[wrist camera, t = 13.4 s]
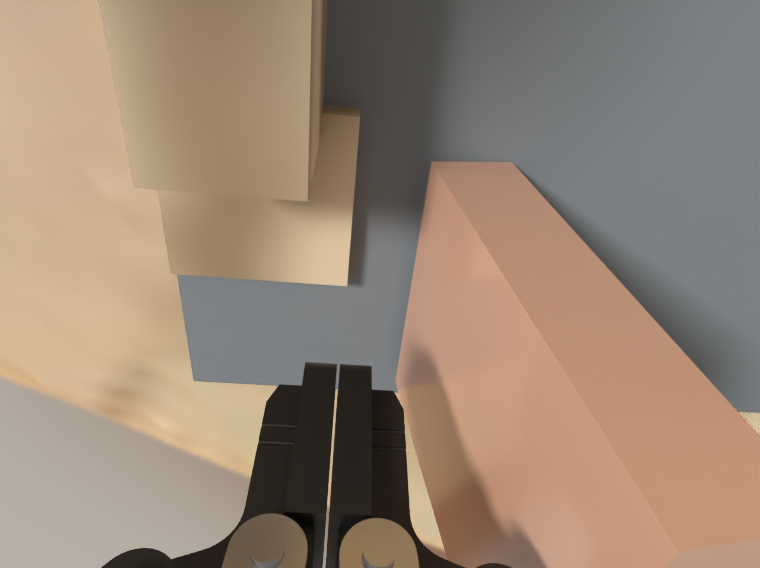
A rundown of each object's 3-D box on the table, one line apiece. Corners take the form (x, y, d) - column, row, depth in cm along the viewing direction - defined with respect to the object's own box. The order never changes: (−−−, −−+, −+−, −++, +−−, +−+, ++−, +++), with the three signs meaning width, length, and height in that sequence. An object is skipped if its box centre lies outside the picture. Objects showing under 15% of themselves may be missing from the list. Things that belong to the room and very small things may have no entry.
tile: (522, 162, 14) (860, 521, 6) (464, 375, 19) (617, 729, 11) (431, 161, 14) (678, 552, 6) (395, 381, 18) (505, 756, 11)
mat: (1383, -325, 9) (1410, -330, 9) (784, 407, 21) (789, 414, 20) (56, -550, 8) (45, -564, 8) (196, 374, 19) (193, 381, 19)
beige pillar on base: (411, -565, 8) (443, -896, 4) (347, 274, 16) (342, 371, 13) (40, -633, 7) (-225, -1047, 4) (177, 262, 16) (128, 358, 13)
